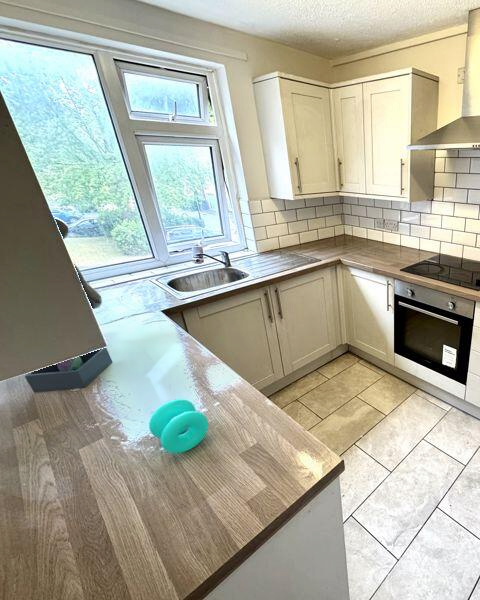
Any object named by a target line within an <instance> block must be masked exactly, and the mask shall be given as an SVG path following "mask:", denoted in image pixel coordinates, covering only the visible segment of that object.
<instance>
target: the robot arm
mask: <svg viewBox="0 0 480 600" xmlns="http://www.w3.org/2000/svg"><path fill="white" fill-rule="evenodd" d="M55 220H56V222H57V225H58V227H59V230H60V232H61V234H62V236H63V239H64V240H65V239H66V238H67V236H68V235H69V226H68V224H67V223H66V222H65V221H63V220H62V219H60V218H58V217H55ZM74 265H75V268H76V270H77V272H78V275H79V278H80V281H81V283H82V285H83V288H84V290H85V292H86V294H87V297H88V299H89V301H90V303H91V306H92V308H93V309H92V310H96V309H99V308H100V307H101V306H102V304H103V298H102V295H101V294H100V293H99V292H98V291H97V290H96V289H94V287H92V286H91V285H90V284H89V283H88V282H87V281H86V279H85V278H84V276H83V274H82V272H81V270H80V269H79V268H78V266H77V264H76V263H74Z"/></svg>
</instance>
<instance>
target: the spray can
mask: <svg viewBox="0 0 480 600" xmlns="http://www.w3.org/2000/svg"><path fill="white" fill-rule="evenodd" d="M82 365H83V362H82V360H81V358H80V356H79V357H77V358H74V359H70V360H67V361H64V362H61V363H58V364H57V366H58V368H59V370H60V372H62V371H73V370H77V369H79V368H80V367H81V366H82Z"/></svg>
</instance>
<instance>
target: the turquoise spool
mask: <svg viewBox="0 0 480 600" xmlns="http://www.w3.org/2000/svg"><path fill="white" fill-rule="evenodd" d="M148 425H149V426H148V427H149V431H150V433H151V435H153V436H154V437H156V438H158V439H160V444H161V447H162V448H163V450H165V451H166V452H168V453H171V454H181V453H185V452H188V451H191V450H192V449H193V448H195V447H196V446H198V444H200V443H201V442H202V441H203V439H204V438H205V436H206V434H207V433H208V430H209V420H208V418H207V417H206V415H205V414H204V413H202V412H200V411H196V407H195V405H194V404H193V403H192V402H191V401H189V400H188V399H184V398H178V399H172V400H169V401H167V402H164V403H163V404H161V405H160V406H159V407H158V408H157V409H156V410H155V411H154V412H153V413H152V415H151V417H150V420H149V422H148Z"/></svg>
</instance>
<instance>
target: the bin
mask: <svg viewBox="0 0 480 600" xmlns="http://www.w3.org/2000/svg"><path fill="white" fill-rule="evenodd" d="M102 348H103V349H100V350H97V351H94V352H91V353H88V354H86V355H83V356H80V358H81V360H82V362H83V365H82V366H81V367H80V368H79V369H77V370H73V371H62V372H60V370H59V368H58V366H57V364H56V365H52V366H49V367H46V368H43V369H40V370H38V371H34V372H31V371H30V372H31V373H30V372H28V373H27V374H26V375H24V378H25V380H26V381H27V384H28V385H29V387H30V388H31V390H32V392H33V393H41V392H51V391H62V390H71V389H72V390H74V389H82V388H87V386H89V384H91V383H92V382H93V381H94V380H95V379H96V378H97V377H98V376H99V375H100V374H101V373H103V371H105V370H106V369H107V368H108V367H109V366H110V365H111V364H112V363H113V360H112V358H111V355H110V353H109V351H108V348H107V347H106V348H104V347H102Z"/></svg>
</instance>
